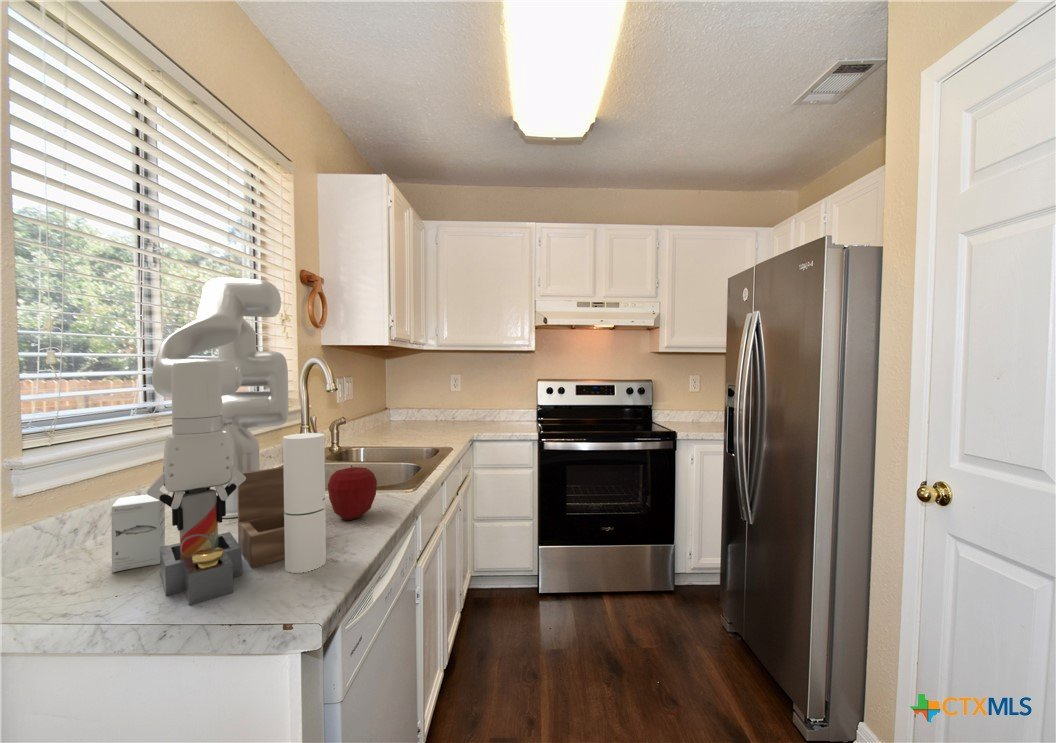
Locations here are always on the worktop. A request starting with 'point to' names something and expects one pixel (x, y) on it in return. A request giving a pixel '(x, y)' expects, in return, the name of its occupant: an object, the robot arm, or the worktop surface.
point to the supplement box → (137, 532)
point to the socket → (201, 571)
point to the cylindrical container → (304, 502)
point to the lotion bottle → (198, 521)
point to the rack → (262, 516)
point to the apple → (352, 492)
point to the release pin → (207, 557)
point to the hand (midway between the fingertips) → (199, 523)
